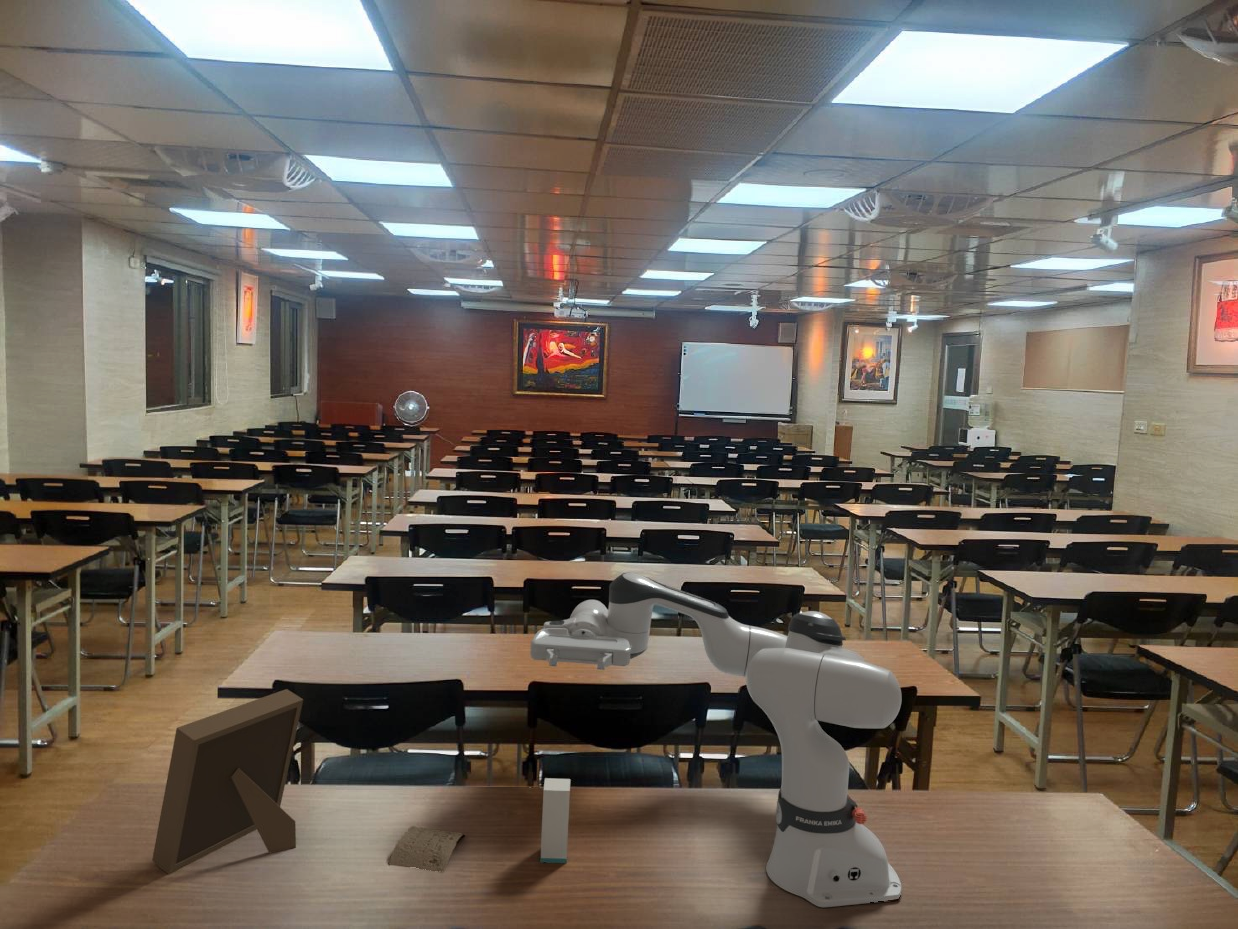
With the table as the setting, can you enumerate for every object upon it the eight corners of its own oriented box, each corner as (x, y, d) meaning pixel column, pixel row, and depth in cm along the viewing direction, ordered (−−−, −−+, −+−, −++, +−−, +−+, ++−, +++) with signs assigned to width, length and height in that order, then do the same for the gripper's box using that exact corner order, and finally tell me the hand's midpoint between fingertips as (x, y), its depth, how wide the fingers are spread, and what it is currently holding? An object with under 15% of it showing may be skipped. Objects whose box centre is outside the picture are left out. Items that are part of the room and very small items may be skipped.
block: (567, 849, 153) (570, 779, 152) (566, 863, 149) (569, 791, 148) (541, 848, 153) (544, 778, 152) (540, 862, 149) (543, 790, 148)
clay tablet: (416, 827, 159) (417, 813, 159) (469, 833, 158) (470, 819, 158) (384, 872, 145) (385, 856, 144) (443, 879, 143) (443, 863, 143)
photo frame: (152, 866, 142) (154, 719, 139) (261, 812, 161) (265, 682, 159) (212, 895, 135) (215, 742, 133) (319, 835, 154) (323, 700, 152)
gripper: (632, 656, 181) (629, 683, 168) (536, 649, 182) (525, 675, 169) (634, 628, 180) (631, 652, 167) (537, 621, 181) (526, 645, 168)
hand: (576, 664), depth 168 cm, fingers open, 8 cm apart
